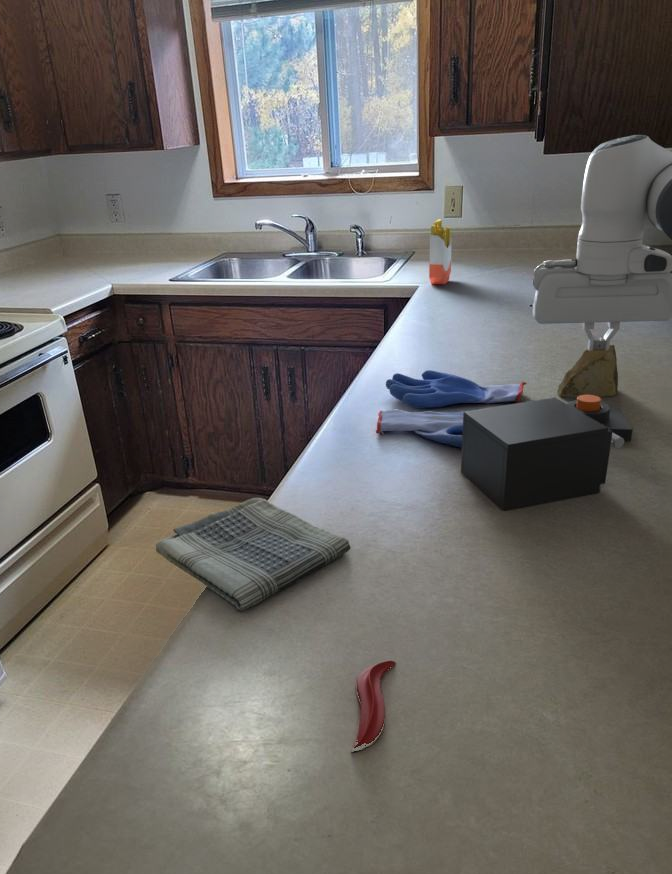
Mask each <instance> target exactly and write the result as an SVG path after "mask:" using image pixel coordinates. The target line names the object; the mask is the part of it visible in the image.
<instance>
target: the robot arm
mask: <svg viewBox="0 0 672 874" xmlns="http://www.w3.org/2000/svg"><path fill="white" fill-rule="evenodd" d="M581 190H582V191H581V200H580V211H581V216H582V217H581V219H582V220H581V225H580V229H579V231H578V235H577V245H576V255H575V259H574V258H573V259H561V260H554V259H551V260H549V259H548V260H545V261H544V262H543V263H540V264H539V265H537V267H536V268H535V269H534V272H533V279H532V285H533V288H534V289H535V293H534V298H533V305H532V318H533V319H534V320H535V321H536V323H538V324H539V325H545V324H546V325H549V324H551V325H553V324H581V327H582V329H583V331H584V333H585V334H586V337H587V350H589V351H597V350H599V351H605V350H609V346H610V345H611V340H613V338H614V337H615V335H616V334H617V333H618V331H619V330H620V327H621V323H628V322H629V323H631V322H667V321H670V320H671V319H672V273H671V272H672V255H671V254H670V253H668V252H667V251H664V250H662V249H659V248H655V247H653V246H649V245H645V244H643V240H644V233H645V231H646V230H648V229H658V230H660V231H662V232H663V233H664V234H665V235H666V236H667V237H668V238H669V239H670V240H671V241H672V151H671V150H670V149H669V150H668V149H667V148H664V147H663V146H661V145H659V144H658V143H656V142H654V141H653V140H652V139H651V138H650V137H649V136H648V135H644V134H633V135H629V136H622V137H617V138H614V139H611V140H608V141H605V142H602V143H600V144H599V145H597V146H596V147H595V148H594V149H593V150H592V152H591V153H590V155H589V157H588V159H587V163H586V166H585V170H584V176H583V183H582V189H581ZM595 323H606V325H607V327H608V330H607V331H606V332H605V334H604V335H603V336H594V335H593V333H592V331H591V330H594V329H595Z"/></svg>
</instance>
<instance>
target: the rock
mask: <svg viewBox="0 0 672 874" xmlns="http://www.w3.org/2000/svg"><path fill="white" fill-rule="evenodd" d="M618 387H619V371H618V364H617V352H616V346H615V344H610V346H609V350H605V351H599V350H597V351H589V350H588V349H586V350H584V351H583V353H582V355H581V356H580V357H579V359H578V360H577V361H576V362H575V364H574V365H573V366H572V367H571V368H570V369H569V370H567V371H566V372H565V374H564V377H563V378H562V380H561V381H560V383H559V385H558V387H557V388H558V389H557V390H556V393H557V394H558V396H559V397H561V398H577V397H578V396H580V395H595V396H598V397H600V398H601V397H614V396H615V395H617V394H618Z"/></svg>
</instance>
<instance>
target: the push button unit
mask: <svg viewBox="0 0 672 874" xmlns="http://www.w3.org/2000/svg"><path fill="white" fill-rule="evenodd" d="M566 404H567V405H569V406H571V407H573V408H574V409H576V410H578V411H580V412H581V413H583V414H585V415H587V416H588V417H590V418H592V419H594V420H595V421H597V422H599V423H601V424H602V425H604V426H606V427H608V429H610V430H611V431H613V433H614V434H616V435H618V436H620V437H621V438H623V439H624V443H631V442H632V436H633V431H634V429H633V427H632V425H631V424H630V422H629V421H628V418H627V417H626V415H625V414H624V412H623V411H622V408H621V407H620V406H619V405H618V406H613V405H609V404H608V403H606V402H603V401H601V403H600V410H598V411H583V410H579V409H577V408H576V404H577V399H575V400H570V401H569V402H568V403H566Z"/></svg>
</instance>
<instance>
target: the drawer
mask: <svg viewBox="0 0 672 874" xmlns="http://www.w3.org/2000/svg"><path fill="white" fill-rule="evenodd" d="M607 434H608V435H607V442H606V449H605V456H604V463H603V471H602V478H601V485H604V484H606V480H607V474H608V467H609V460H610V459H609V458H610V454H611V447H612V448H615V449H620V448H622V447H623V446H624V444H625V442H624V439H623V438H621V437H620V436H618V435H616V434H614V433H613V431H611V430H610V429H608V433H607Z"/></svg>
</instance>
